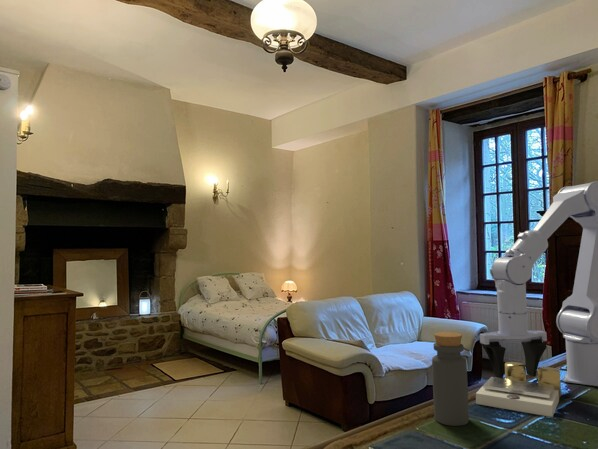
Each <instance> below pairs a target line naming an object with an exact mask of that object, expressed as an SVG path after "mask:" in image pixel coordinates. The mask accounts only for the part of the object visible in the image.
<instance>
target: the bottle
mask: <svg viewBox="0 0 598 449" xmlns="http://www.w3.org/2000/svg"><path fill="white" fill-rule="evenodd" d="M433 334H434V339H435V342H434V343H433V350H434V351H436V355H434V356H433V357H432V359H431V365H432V366H431V367H432V368H431V370H432V372H431V373H432V391H433V392H432V393H433V412H434V414H433V415H434V418H433V419H434V420H435V421H436V422H438V423H439V424H442V425H445V426H453V427H457V426H458V427H459V426H465V425H467V424H468V423H469V419H470V418H469V417H470V413H469V412H470V411H469V391H468V368H467V365H468V364H467V360H466V359H465V358H464V357H463V356H462V354H461V353H462V352H464V344H462V343H461V342H462V339H463V338H462V337H463V335H462V334H461V333H459V332H455V331H454V332H452V331H441V332H439V331H438V332H434V333H433Z"/></svg>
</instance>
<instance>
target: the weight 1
mask: <svg viewBox="0 0 598 449" xmlns="http://www.w3.org/2000/svg"><path fill="white" fill-rule="evenodd" d="M504 377H505V378H504V379H512V380H519V381H526V382H527V372H526V364H525V363H522V362H516V361H508V362H507V361H505V363H504Z"/></svg>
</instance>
